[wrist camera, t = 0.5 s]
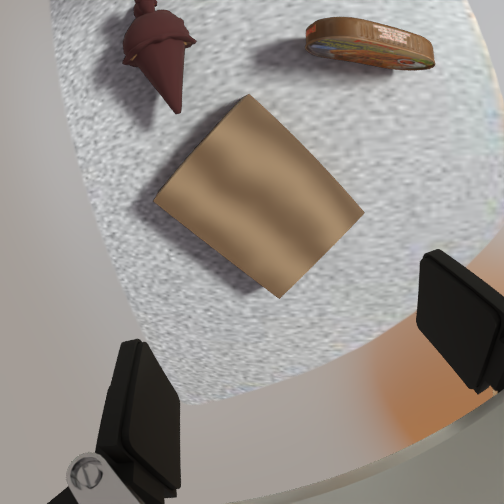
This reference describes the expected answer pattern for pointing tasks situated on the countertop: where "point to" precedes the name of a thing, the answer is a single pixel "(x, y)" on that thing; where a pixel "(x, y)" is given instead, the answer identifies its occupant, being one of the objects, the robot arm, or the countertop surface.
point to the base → (259, 198)
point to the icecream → (158, 49)
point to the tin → (369, 44)
